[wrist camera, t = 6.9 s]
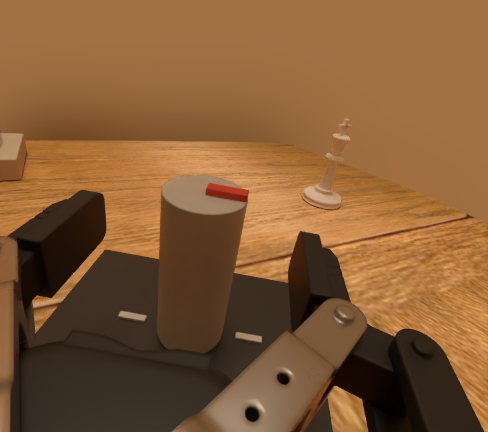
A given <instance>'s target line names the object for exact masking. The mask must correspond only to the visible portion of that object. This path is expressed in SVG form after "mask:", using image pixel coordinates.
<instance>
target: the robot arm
mask: <svg viewBox="0 0 488 432" xmlns="http://www.w3.org/2000/svg"><path fill="white" fill-rule="evenodd" d="M105 233H106V215H105V201H104V196H103V194H101V193H97V192H91V191H86V190H80V191H79V192H77V193H76V194H75V195H73V196H72V197H71V198H69V199H65V200H62V201H60V202H57V203H54V204H52V205H50V206H49V207H48V208H46V209H45V210H43V212H42V213H39V214H38V215H36V216H35V218H32V219H31V220H29V221H28V222H26V223H25V224H24V225H22V226H21V227H19V228H18V229H17V230H15V231H14V232H12V233H11V234H10V235H8V236H7V237H5V236H0V432H304V431H305V430H306V428H307V426H308V425H309V423H310V422H311V420H312V419H313V417H314V416H315V415H316V413H317V412H318V410H319V409H320V407H321V406H322V404H323V403H324V401H325V400H326V398H327V397H328V395H329V394H330V392H331V391H332V389H333V388H334V386H335V385H336V386H338V387H340V388H341V389H343V390H345V391H347V392H349V393H351V394H353V395H355V396H357V397H359V398H361V399H362V401H363V406H364V411H365V416H366V421H367V426H368V432H484V430H483V428H482V426H481V424H480V422H479V420H478V418H477V416H476V414H475V412H474V410H473V408H472V406H471V404H470V402H469V400H468V398H467V396H466V394H465V392H464V390H463V388H462V386H461V384H460V382H459V380H458V378H457V376H456V374H455V372H454V370H453V368H452V366H451V364H450V362H449V360H448V358H447V356H446V354H445V352H444V351H443V349H442V348H441V347H440V346H439V345H438V344H437V343H436V342H435V341H434V340H433V339H431V338H430V337H428V336H427V335H425V334H423V333H421V332H419V331H416V330H413V329H402V330H400V331H398V333H397V334H396V336H395V337H394V336H392V335H390V334H387V333H385V332H383V331H380V330H378V329H376V328H374V327H372V326H370V325H369V324H367V320H366V317H365V315H364V314H363V312H362V311H361V310H360V309H359V308H358V307H357V306H355V305H354V304H352V303H351V301H350V298H349V295H348V291H347V288H346V285H345V282H344V278H343V277H342V272H341V269H340V265H339V262H338V258H337V257H336V256H335V255H334V253H333V252H332V251H331V250H330V249H327V248H322V244H321V240H320V236H319V235H318V234H313V233H307V232H302V231H300V232H299V235H298V237H297V241H296V244H295V247H294V250H293V254H292V257H291V260H290V264H289V270H288V283H289V299H290V314H291V330H292V332H291V331H289V330H287V331H285V332H284V333H283V334H282V335H281V336H279V337H278V338H277V339H276V340H275V341H274V342H273V343H272V344H271V345H270V346H269V347H268V348H267V349H266V350H265V351H264V352H263V353H262V354H261V355H260V356H259V357H257V358H256V359H255V360H254V361H253V362H252V363H251V364H250V365H249V366H248V367H247V368H246V369H245V370H244V371H243V372H242V373H241V374H240V375H239V376H238V377H237V378H235V379H234V380H231V379H230V378H229V377H228V376H227V375H225V374H224V373H222V372H221V371H219V370H218V369H216V368H213V367H211V365H212V360H213V355H209V354H204V353H199V352H193V351H188V350H182V349H165V350H145V351H141V350H137V349H134V348H132V347H130V346H128V345H126V344H124V343H122V342H119V341H117V340H115V339H113V338H111V337H109V336H106V335H101V334H95V333H90V332H85V331H79V330H74V329H72V330H71V332H70V333H69V335H68V336H67V337H66V339H65V340H64V341H56V342H50V343H46V344H42V345H38V346H36V342H35V326H34V311H33V304H32V300H33V299H34V298H35V297H36V296H37V295H38V296H43V297H49V298H52V297H53V296H54V295H55V294H56V292H57V291H58V290H59V289H60V288H61V287H62V286H63V285H64V283H65V282H66V281H67V280H68V279H69V278H70V277H71V275H72V274H73V273H74V272H75V271H76V270H77V269H78V268H79V266H80V265H81V264H82V263H83V262H84V261H85V260H86V259H87V257H88V256H89V255H90V254H91V253H92V252H93V251H94V249H95V248H96V247H97V246H98V245H99V244H100V243H101V242H102V240H103V238H104V236H105Z"/></svg>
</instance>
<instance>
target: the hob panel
mask: <svg viewBox="0 0 488 432" xmlns="http://www.w3.org/2000/svg"><path fill="white" fill-rule="evenodd" d="M158 281H159V259H155V258H149V257H144V256H138V255H133V254H127V253H122V252H117V251H111V250H105V251H104V252H103V253H102V254H101V255H100V257H99V258H98V259H97V260H96V261H95V263H94V264H93V265H92V266H91V267H90V269H89V270H88V271H87V272H86V273H85V275H84V276H83V277H82V278H81V280H80V281H79V282H78V283H77V284H76V286H75V287H74V288H73V289H72V290H71V292H70V293H69V294H68V295H67V296H66V298H65V299H64V300H63V301H62V302H61V304H60V305H59V306H58V307H57V309H56V310H55V311H54V312H53V313H52V315H51V316H50V317H49V318H48V319H47V321H46V322H45V323H44V324H43V325H42V327H41V328H40V329H39V330H38V331H37V333H36V334H35V342H36V346H38V345H42V344H46V343H50V342H56V341H64V340H65V339H66V337H67V336H68V335H69V333H70V332H71V330H72V329H74V330H79V331H85V332H90V333H95V334H101V335H106V336H109V337H111V338H113V339H115V340H117V341H119V342H122V343H124V344H126V345H128V346H130V347H132V348H134V349H137V350H141V351H145V350H165V349H166V348H165V347H164V346H163V344H162V343H161V342H160V340H159V338H158V334H157V314H158ZM287 330H289V331H291V332H292V330H291V314H290V299H289V283H285V282H280V281H274V280H269V279H263V278H258V277H253V276H247V275H242V274H236V273H234V275H233V280H232V286H231V291H230V296H229V301H228V306H227V312H226V317H225V322H224V327H223V332H222V336H221V339H220V340H219V342H218V343H217V345H216V346H215V347H214V348H212V349H211V350H210V351H208V352H206V353H204V354H209V355H213V360H212V365H211V367H213V368H216V369H218V370H219V371H221V372H222V373H224V374H225V375H227V376H228V377H229V378H230V379H231V380H234V379H235V378H237V377H238V376H239V375H240V374H241V373H242V372H243V371H244V370H245V369H246V368H247V367H248V366H249V365H250V364H251V363H252V362H253V361H254V360H255V359H256V358H257V357H259V356H260V355H261V354H262V353H263V352H264V351H265V350H266V349H267V348H268V347H269V346H270V345H271V344H272V343H273V342H274V341H275V340H276V339H277V338H278V337H279V336H281V335H282V334H283V333H284V332H285V331H287ZM304 432H333V430H332V424H331V417H330V411H329V405H328V398H326V400H325V401H324V403H323V404H322V406H321V407H320V409H319V410H318V412H317V413H316V415H315V416H314V417H313V419H312V420H311V422H310V423H309V425H308V426H307V428H306V430H305V431H304Z"/></svg>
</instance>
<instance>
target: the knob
mask: <svg viewBox="0 0 488 432" xmlns="http://www.w3.org/2000/svg"><path fill="white" fill-rule="evenodd" d="M248 192H249V190H245V189H242V188H240V187H239V186H238V185H236V184H234V183H232V182H230V181H227V180H225V179H221V178H218V177H213V176H206V175H186V176H180V177H176V178H173V179H171V180H169V181H167V182H166V183H165V184H164V185H163V187H162V190H161V216H160V249H159V281H158V314H157V334H158V338H159V340H160V342H161V343H162V344H163V346H164V347H165V348H166V349H182V350H188V351H193V352H199V353H206V352H208V351H210V350H211V349H212V348H214V347H215V346H216V345H217V343H218V342H219V340H220V339H221V336H222V332H223V327H224V322H225V317H226V312H227V306H228V301H229V296H230V291H231V286H232V280H233V275H234V270H235V265H236V260H237V254H238V249H239V244H240V239H241V234H242V228H243V223H244V218H245V213H246V208H247V202H248Z"/></svg>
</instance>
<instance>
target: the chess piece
mask: <svg viewBox="0 0 488 432" xmlns="http://www.w3.org/2000/svg"><path fill="white" fill-rule="evenodd" d="M349 122H350V119H346V118H345V119H344V122H343V124H339V125H338V128H339V129H341V131H340V133H339V134H334V135H333V136H332V152H331V153H327V155H326V157H327V158H328V159H330V161H329V163H328V165H327V168H326V170H325V172H324V174H323V176H322V178H321V180H320V182H319V184H316V185H315V186H309V187H306V188H305V189H304V191H303V193H302V198H303V199H304V200H305V201H306V202H308V203H309V204H311V205H314V206H316V207H319V208H323V209H337V208H339V207H340V206H341V201H342V200H341V197H340V196H339V195H338V194H337V193H336V192H334V189H333V188H332V187H333V181H334V176H335V171H336V167H337V163H338V162H341V161H344V157H343V156H341V152H342V151H343V150H344V148H345V147H346V145H347V144H348V143H349V141H350V138H349V137H348V136H346V135H345V134H346V131H347V129H349V130H351V128H352V125H349Z"/></svg>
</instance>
